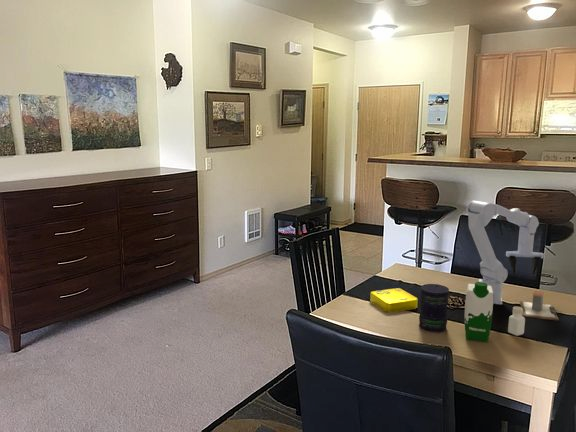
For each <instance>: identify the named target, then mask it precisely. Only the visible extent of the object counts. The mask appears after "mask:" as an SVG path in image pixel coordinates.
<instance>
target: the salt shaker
mask: <svg viewBox="0 0 576 432" xmlns="http://www.w3.org/2000/svg"><path fill="white" fill-rule="evenodd" d="M525 323H526V318H525V317H524V316H523V308H521V306H513V307H512V315H510V316H509V317H508V325H507V326H508V327H507V333H509V334H511V335H514V336H517V337H518V336H522V335H524V333H525V327H526V326H525V325H526V324H525Z"/></svg>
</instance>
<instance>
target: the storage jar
mask: <svg viewBox="0 0 576 432" xmlns="http://www.w3.org/2000/svg"><path fill="white" fill-rule="evenodd" d="M449 292H450V289H449V287H447V286H445V285H442V284H438V283H437V284H436V283H426V284H423V285H421V286H420V299H419V301H420V311H419V315H418V316H419V317H418V321H419V324H418V327H419V329H421V330H423V331H424V332H428V333H433V334H434V333H435V334H437V333H439V334H440V333H444V332H446V331H447V324H448V314H447V312H448V305H449V301H450V300H449V297H450V295H449Z"/></svg>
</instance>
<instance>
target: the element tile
mask: <svg viewBox="0 0 576 432" xmlns="http://www.w3.org/2000/svg"><path fill="white" fill-rule="evenodd" d="M369 296H370V300H369V301H370V303H372V304H373V305H375V306H377V308H378V309H380V310H382V311H383V312H385V313H398V312H403V311H410V310H417V309H418V306H419V305H418V303H419V302H418V301H419V300H418V297H416V296H414V295H412V294H411V293H409V292H407V291H405V290H403V288H400V287H398V288H397V287H396V288H388V289H387V288H386V289H382V290H380V289H379V290H373V291H370V295H369ZM416 308H417V309H416Z"/></svg>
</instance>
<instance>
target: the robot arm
mask: <svg viewBox="0 0 576 432" xmlns="http://www.w3.org/2000/svg"><path fill="white" fill-rule="evenodd" d="M466 213H467V216H468V229H469V233H470V234H471V236H472V239H473V242H474V244H475V247H476V249H477V252H478V254H479V256H480V259H481V261H480V262H479V266H480V269H479V270H480V274H481V275H482V278H479V279H478V282H483V283H486V284H487V285H488V286H491V287H492V290H493V305H494V304H495V305H500V306H501V305H503V299H502V290H503V283H505V281H506V280H507V278H508V269H506V268H505V267H504V265H503V264H502V262H501V261H499V259H497V257H496V254H495V251H494V248H493V246H492V244H491V242H490V238H489V236H488V234H487V231H486V228H485V227H486V226H487V225H488V224H489V223H490V221H492V219H493V218H494V216H497V215H499V216H502V217H505V218H506V220H507V222H509V223H512V224H514V225H517V227H519V232H518V241H517V242H518V243H517V250H513V251H512V250H511V251H510V250H509V251H508V250H507V251H506V252H505V256H506V257H507V258H508V261H509V264H510V267H511V273H512V274H516V266H517V258H531V270H530V274H531V275H533V276H534V275H535V273H536V271H537V269H538V267H539V265H540V264H541V262H542V259H544V258H545V254H544V253H543V252H537V251H533V250H534V240H535V234H536V232H537V228H538V227H539V225H540V222H539V219H538V218H537V216H535V215H531V214H529V212H526V211H521V209H520V208H517V207H515V208H510V209H508V208H506V207H504V206H502V205H500V204H496V203H493V202H486V201H480V200H478V199H474V200H472V201H470V202H469V203H468V206H467V207H466Z"/></svg>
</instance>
